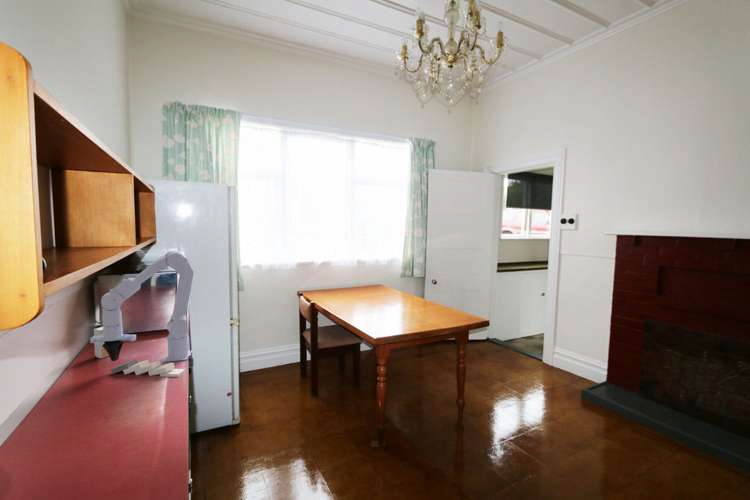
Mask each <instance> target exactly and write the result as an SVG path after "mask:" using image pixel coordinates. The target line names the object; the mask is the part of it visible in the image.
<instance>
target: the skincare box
mask: <svg viewBox="0 0 750 500" xmlns="http://www.w3.org/2000/svg"><path fill="white" fill-rule="evenodd" d="M102 335H103V326H100V327H97V328H93V336H102ZM104 343H105V342H94V343H93V345H94V356H96V357H95V358H98V359H103V358H107V357H110V356H109V354H108V352H107V351H106V350H105V349H104V348H103V346H102V345H103V344H104Z"/></svg>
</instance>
